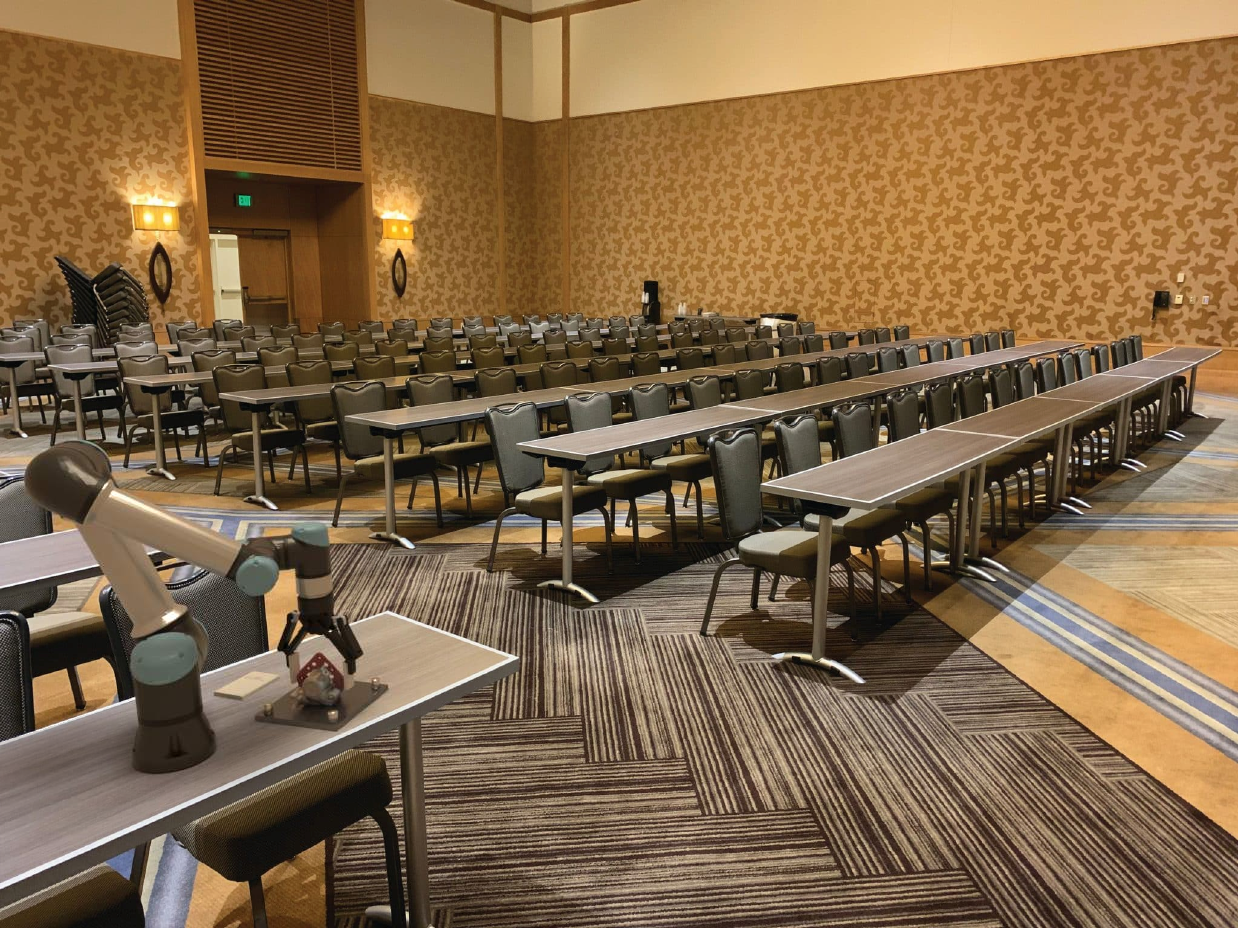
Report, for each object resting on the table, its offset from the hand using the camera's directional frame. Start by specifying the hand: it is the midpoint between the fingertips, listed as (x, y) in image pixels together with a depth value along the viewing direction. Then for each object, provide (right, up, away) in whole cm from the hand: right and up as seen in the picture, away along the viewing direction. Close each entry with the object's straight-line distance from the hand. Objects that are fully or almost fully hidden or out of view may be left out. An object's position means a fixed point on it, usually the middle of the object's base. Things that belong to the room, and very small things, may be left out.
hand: (322, 684), depth 202 cm
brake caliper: (0, -4, 0) cm, 4 cm away
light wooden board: (-21, -4, +11) cm, 24 cm away
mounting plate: (0, -5, +1) cm, 5 cm away
